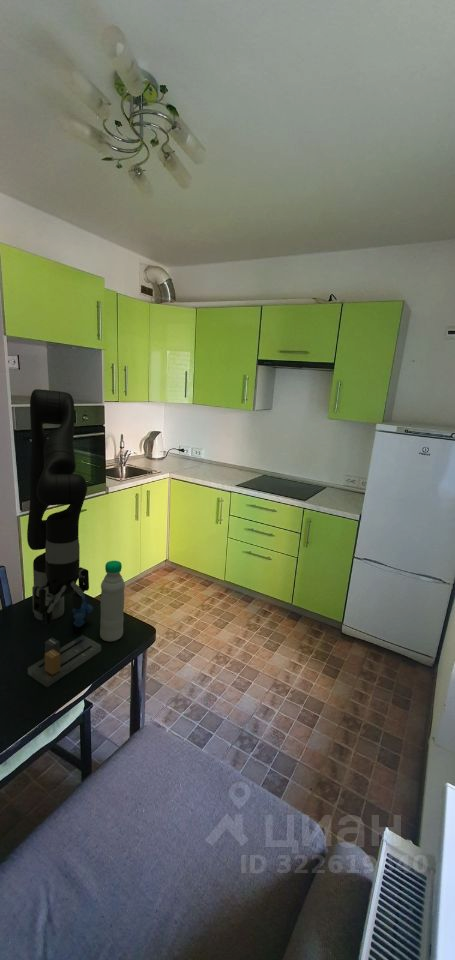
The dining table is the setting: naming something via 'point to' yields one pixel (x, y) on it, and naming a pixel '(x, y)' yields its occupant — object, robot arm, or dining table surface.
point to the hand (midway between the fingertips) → (62, 616)
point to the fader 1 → (52, 645)
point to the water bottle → (112, 602)
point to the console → (66, 660)
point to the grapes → (81, 612)
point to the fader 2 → (52, 662)
